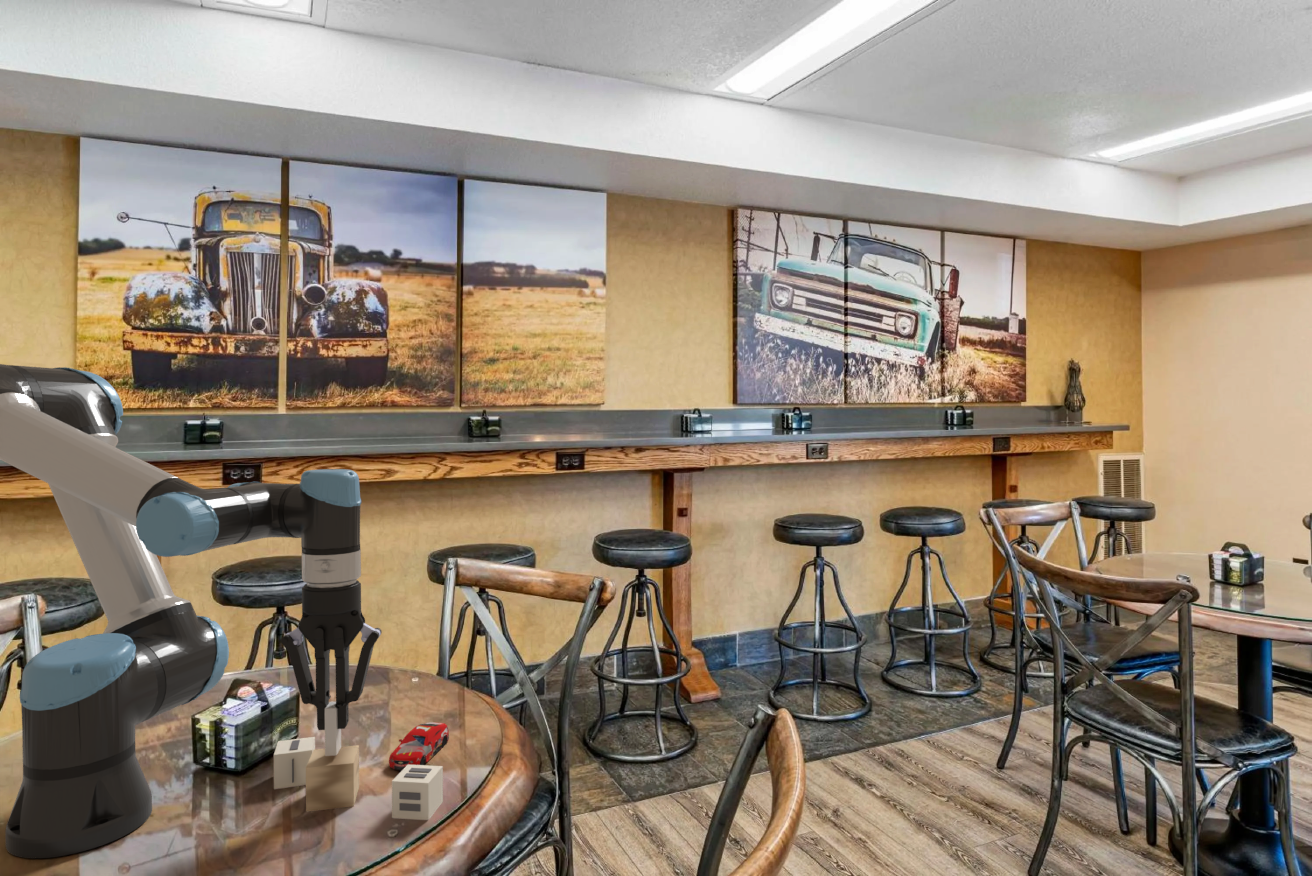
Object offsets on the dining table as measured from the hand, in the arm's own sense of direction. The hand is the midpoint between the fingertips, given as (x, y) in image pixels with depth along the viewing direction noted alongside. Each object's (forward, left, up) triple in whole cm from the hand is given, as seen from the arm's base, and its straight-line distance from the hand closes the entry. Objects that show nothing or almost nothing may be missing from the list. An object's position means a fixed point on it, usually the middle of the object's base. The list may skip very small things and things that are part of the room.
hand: (333, 751), depth 108 cm
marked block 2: (+12, -5, -7) cm, 15 cm away
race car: (+10, +13, -7) cm, 18 cm away
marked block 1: (-7, +7, -7) cm, 12 cm away
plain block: (0, 0, -7) cm, 7 cm away
